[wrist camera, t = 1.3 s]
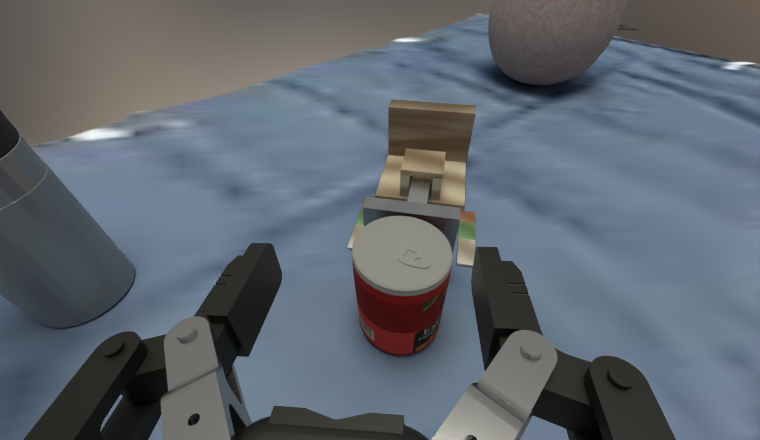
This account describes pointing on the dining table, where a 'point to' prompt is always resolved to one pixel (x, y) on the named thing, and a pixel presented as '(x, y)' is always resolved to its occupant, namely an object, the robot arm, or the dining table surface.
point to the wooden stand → (429, 161)
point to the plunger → (415, 210)
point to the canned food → (401, 282)
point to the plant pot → (551, 36)
